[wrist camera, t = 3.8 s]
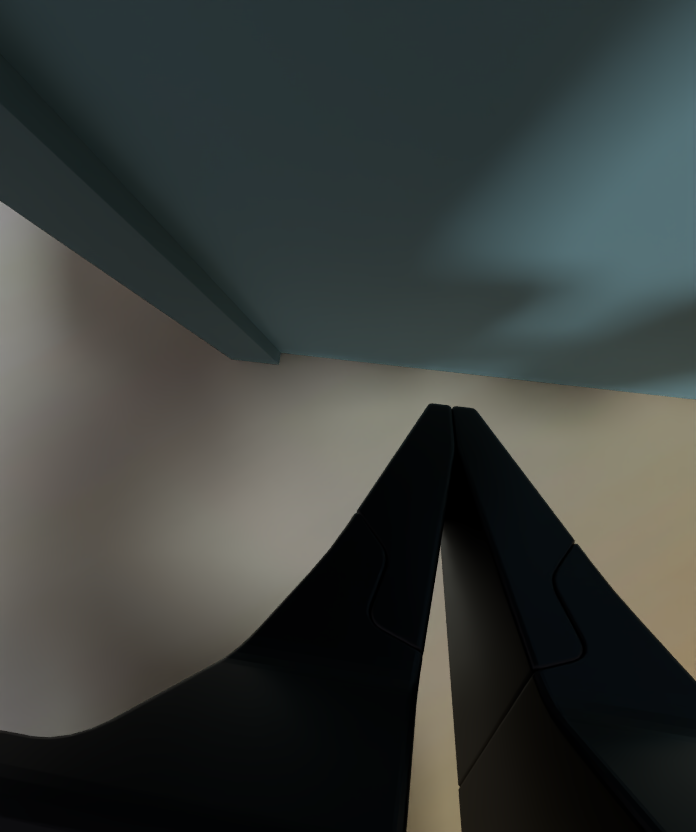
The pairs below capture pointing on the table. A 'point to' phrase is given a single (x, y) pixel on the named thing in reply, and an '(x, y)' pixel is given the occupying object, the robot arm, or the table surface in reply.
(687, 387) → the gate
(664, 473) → the table surface
